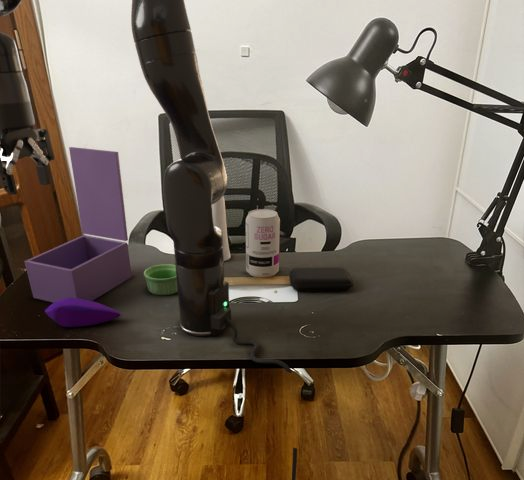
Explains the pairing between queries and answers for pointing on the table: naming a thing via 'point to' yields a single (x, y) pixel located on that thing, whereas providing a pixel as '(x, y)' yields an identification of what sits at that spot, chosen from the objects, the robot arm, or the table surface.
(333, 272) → the carrying case
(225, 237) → the cosmetic bottle
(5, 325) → the table surface
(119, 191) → the lid
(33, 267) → the file box
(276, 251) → the supplement can
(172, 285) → the ramekin
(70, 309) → the purple teardrop shape
